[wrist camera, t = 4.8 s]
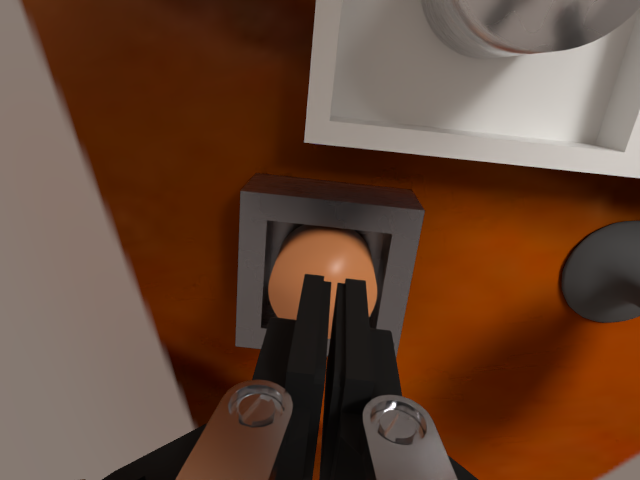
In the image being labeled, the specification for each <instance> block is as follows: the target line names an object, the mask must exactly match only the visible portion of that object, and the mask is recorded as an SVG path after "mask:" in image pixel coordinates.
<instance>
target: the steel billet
mask: <svg viewBox="0 0 640 480" xmlns="http://www.w3.org/2000/svg"><path fill="white" fill-rule="evenodd" d="M421 4H422V8H423V12H424V15H425V17H426V20H427V22H428V24H429V26H430V28H431V29H432V31H433V32H434V34H435V35H436V36H437V38H438V39H439V40H440V41H441V42H442V43H443V44H444V45H446V46H447V47H449V48H450V49H451V50H453V51H455V52H457V53H459V54H461V55H464V56H467V57H471V58H476V59H493V58H502V57H511V56H519V55H528V54H537V53H546V52H555V51H563V50H569V49H573V48H577V47H580V46H583V45H586V44H588V43H591V42H594V41H595V40H597V39H599V38H601V37H603V36H605V35H607V34H608V33H610V32H611V31H613V30H614V29H616V28H618V27H619V26H620V25H622V24H623V23H624V22H625V21H626V20H628V19H629V18H630V17H631V16H632V15H633V14H634V13H635V12H636V11H637V10H638V9H639V8H640V0H421Z"/></svg>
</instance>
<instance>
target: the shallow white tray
mask: <svg viewBox="0 0 640 480" xmlns="http://www.w3.org/2000/svg"><path fill="white" fill-rule="evenodd" d="M304 142H305V143H314V144H324V145H333V146H342V147H352V148H361V149H370V150H380V151H389V152H399V153H408V154H417V155H427V156H436V157H445V158H455V159H464V160H474V161H483V162H492V163H502V164H511V165H520V166H530V167H539V168H549V169H558V170H567V171H577V172H586V173H595V174H605V175H614V176H624V177H633V178H640V8H639V9H638V10H637V11H636V12H635V13H634V14H633V15H632V16H631V17H630V18H629V19H628V20H626V21H625V22H624V23H623V24H622V25H620V26H619V27H618V28H616V29H614V30H613V31H611V32H610V33H608V34H607V35H605V36H603V37H601V38H599V39H597V40H595V41H594V42H591V43H588V44H586V45H583V46H580V47H577V48H573V49H569V50H563V51H555V52H546V53H537V54H528V55H519V56H511V57H502V58H493V59H476V58H471V57H467V56H464V55H461V54H459V53H457V52H455V51H453V50H451V49H450V48H449V47H447V46H446V45H444V44H443V43H442V42H441V41H440V40H439V39H438V38H437V36H436V35H435V34H434V32H433V31H432V29H431V28H430V26H429V24H428V22H427V20H426V17H425V15H424V12H423V8H422V4H421V0H316V7H315V18H314V30H313V42H312V54H311V66H310V78H309V90H308V102H307V113H306V125H305V137H304Z"/></svg>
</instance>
